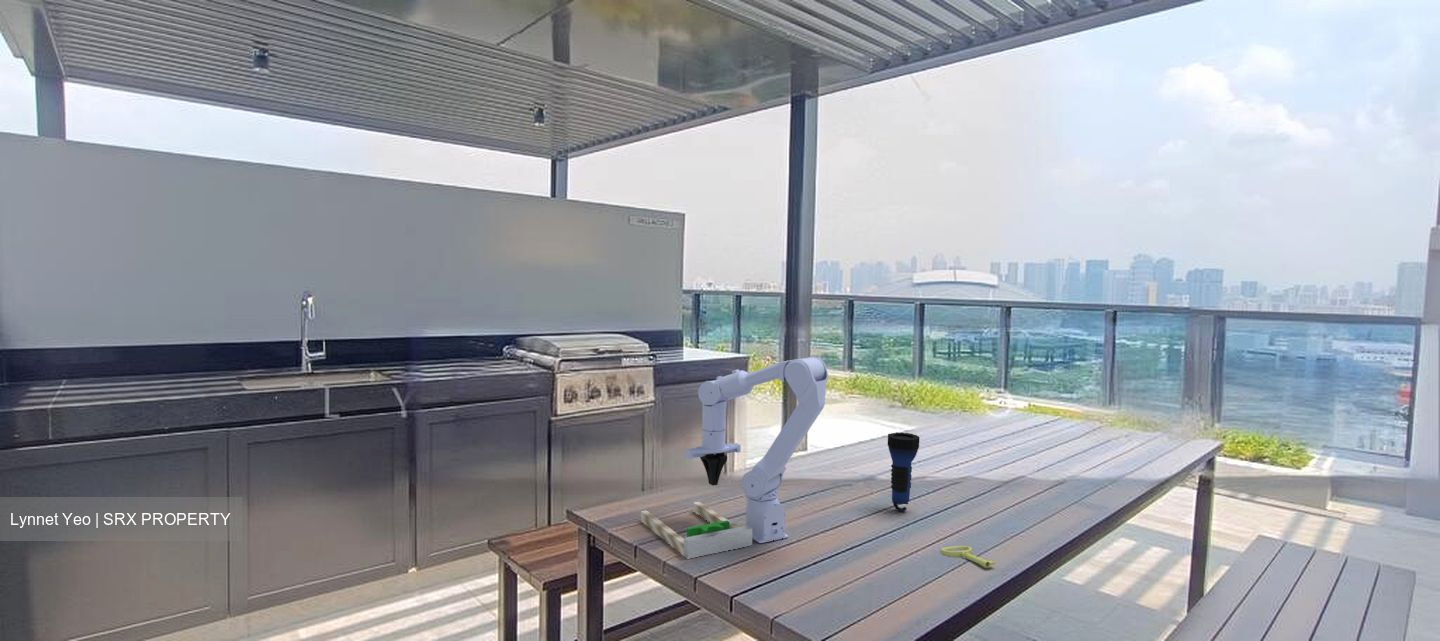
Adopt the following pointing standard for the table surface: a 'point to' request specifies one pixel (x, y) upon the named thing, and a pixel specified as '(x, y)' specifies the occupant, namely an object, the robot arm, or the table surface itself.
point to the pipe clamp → (707, 528)
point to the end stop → (717, 541)
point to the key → (965, 555)
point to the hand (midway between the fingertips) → (713, 484)
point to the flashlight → (902, 465)
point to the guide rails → (672, 536)
